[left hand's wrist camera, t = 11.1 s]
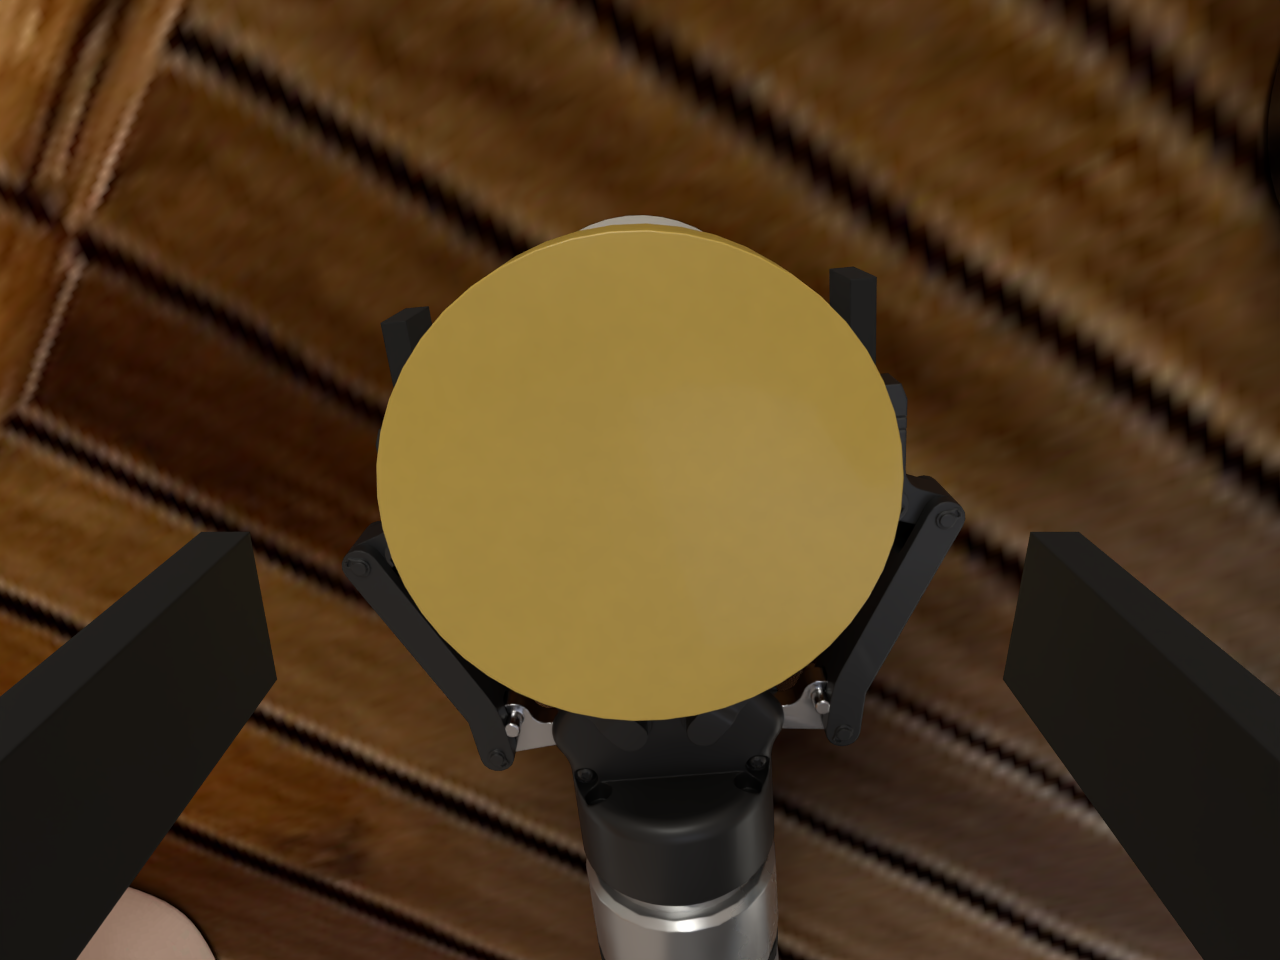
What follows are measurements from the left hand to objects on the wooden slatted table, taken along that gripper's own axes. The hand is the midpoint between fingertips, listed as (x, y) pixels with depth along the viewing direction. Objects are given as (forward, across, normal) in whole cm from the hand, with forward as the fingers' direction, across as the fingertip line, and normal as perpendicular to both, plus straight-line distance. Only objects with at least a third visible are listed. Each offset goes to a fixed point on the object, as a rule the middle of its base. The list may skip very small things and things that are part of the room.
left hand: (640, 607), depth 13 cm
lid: (+5, 0, 0) cm, 5 cm away
